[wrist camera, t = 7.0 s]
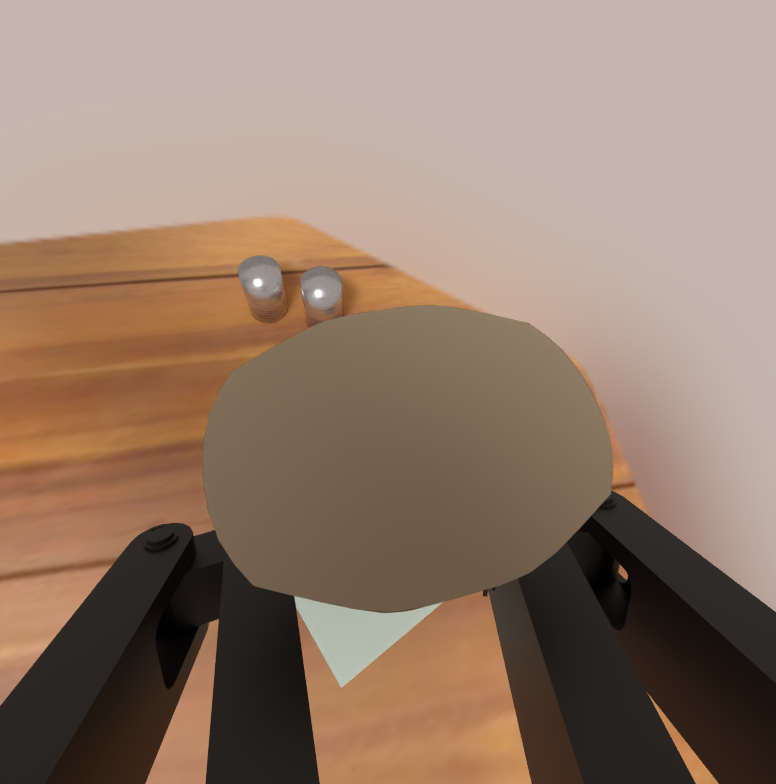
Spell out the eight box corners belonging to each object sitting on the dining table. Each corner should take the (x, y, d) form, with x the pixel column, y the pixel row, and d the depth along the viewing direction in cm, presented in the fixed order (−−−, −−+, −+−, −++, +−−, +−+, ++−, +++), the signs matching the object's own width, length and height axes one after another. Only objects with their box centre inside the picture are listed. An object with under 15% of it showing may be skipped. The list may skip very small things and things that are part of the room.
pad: (266, 551, 31) (263, 549, 30) (379, 474, 34) (379, 471, 33) (341, 685, 28) (341, 687, 27) (458, 586, 31) (461, 586, 30)
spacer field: (243, 303, 41) (230, 265, 36) (314, 270, 43) (310, 231, 39) (366, 479, 34) (368, 460, 29) (442, 428, 36) (454, 403, 32)
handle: (448, 587, 20) (666, 537, 6) (308, 626, 18) (214, 668, 5) (419, 486, 22) (538, 287, 8) (292, 515, 20) (194, 337, 7)
